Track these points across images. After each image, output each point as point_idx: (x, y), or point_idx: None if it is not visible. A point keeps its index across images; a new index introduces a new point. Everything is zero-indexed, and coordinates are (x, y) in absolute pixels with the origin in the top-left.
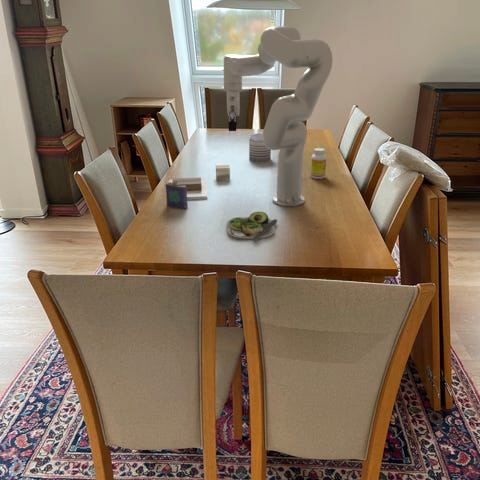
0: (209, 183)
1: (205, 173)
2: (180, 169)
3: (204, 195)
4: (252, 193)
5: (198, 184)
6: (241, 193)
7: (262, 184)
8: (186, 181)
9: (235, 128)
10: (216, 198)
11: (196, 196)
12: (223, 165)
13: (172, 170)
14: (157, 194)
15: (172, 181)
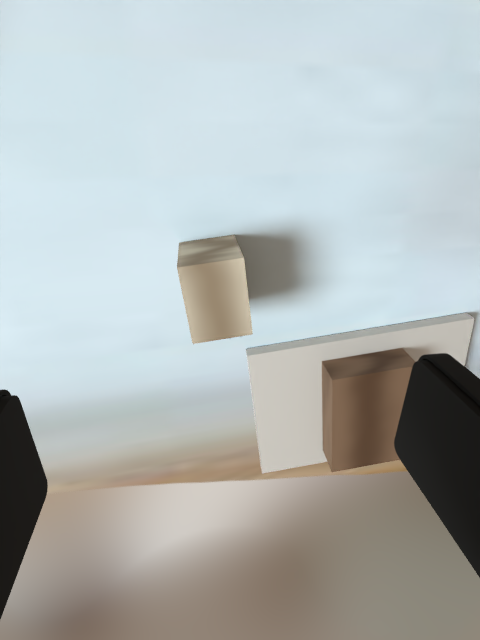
0: (274, 328)
1: (122, 364)
2: (79, 465)
3: (463, 329)
4: (455, 94)
5: None
6: (439, 162)
7: (312, 11)
8: (378, 422)
9: (470, 386)
10: (470, 277)
11: (465, 355)
12: (193, 300)
13: (100, 487)
14: (377, 467)
15: (368, 464)
